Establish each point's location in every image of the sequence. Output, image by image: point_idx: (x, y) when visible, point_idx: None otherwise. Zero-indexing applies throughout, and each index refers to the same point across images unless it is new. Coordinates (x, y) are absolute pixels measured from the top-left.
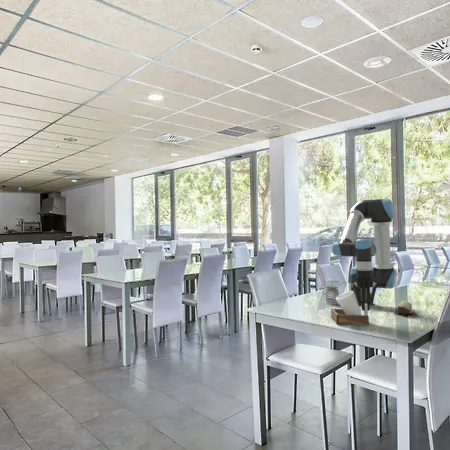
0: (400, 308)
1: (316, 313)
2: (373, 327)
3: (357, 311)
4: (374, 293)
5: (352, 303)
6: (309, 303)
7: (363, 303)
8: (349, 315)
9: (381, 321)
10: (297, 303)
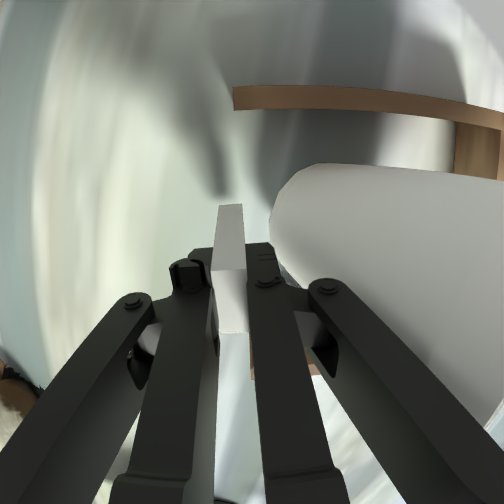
0: (20, 407)
1: None
2: (211, 24)
3: (346, 178)
4: (45, 402)
5: (458, 186)
6: (391, 485)
7: (269, 274)
8: (431, 97)
9: (112, 245)
10: None
